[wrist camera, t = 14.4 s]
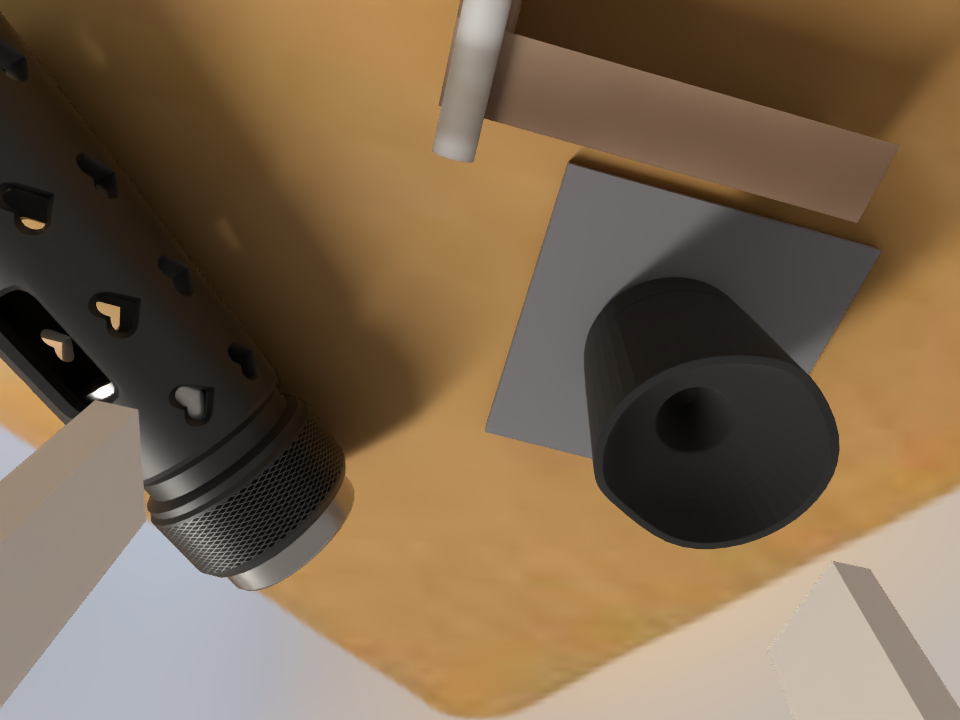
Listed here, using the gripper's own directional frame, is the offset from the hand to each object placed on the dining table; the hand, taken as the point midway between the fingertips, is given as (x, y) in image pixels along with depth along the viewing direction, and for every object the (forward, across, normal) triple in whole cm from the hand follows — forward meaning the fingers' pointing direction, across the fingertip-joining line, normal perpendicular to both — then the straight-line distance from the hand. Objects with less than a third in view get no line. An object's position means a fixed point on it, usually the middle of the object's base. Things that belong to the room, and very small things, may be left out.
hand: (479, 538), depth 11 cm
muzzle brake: (+22, -17, -8) cm, 29 cm away
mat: (+22, +10, -5) cm, 24 cm away
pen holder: (+21, +10, -5) cm, 24 cm away
